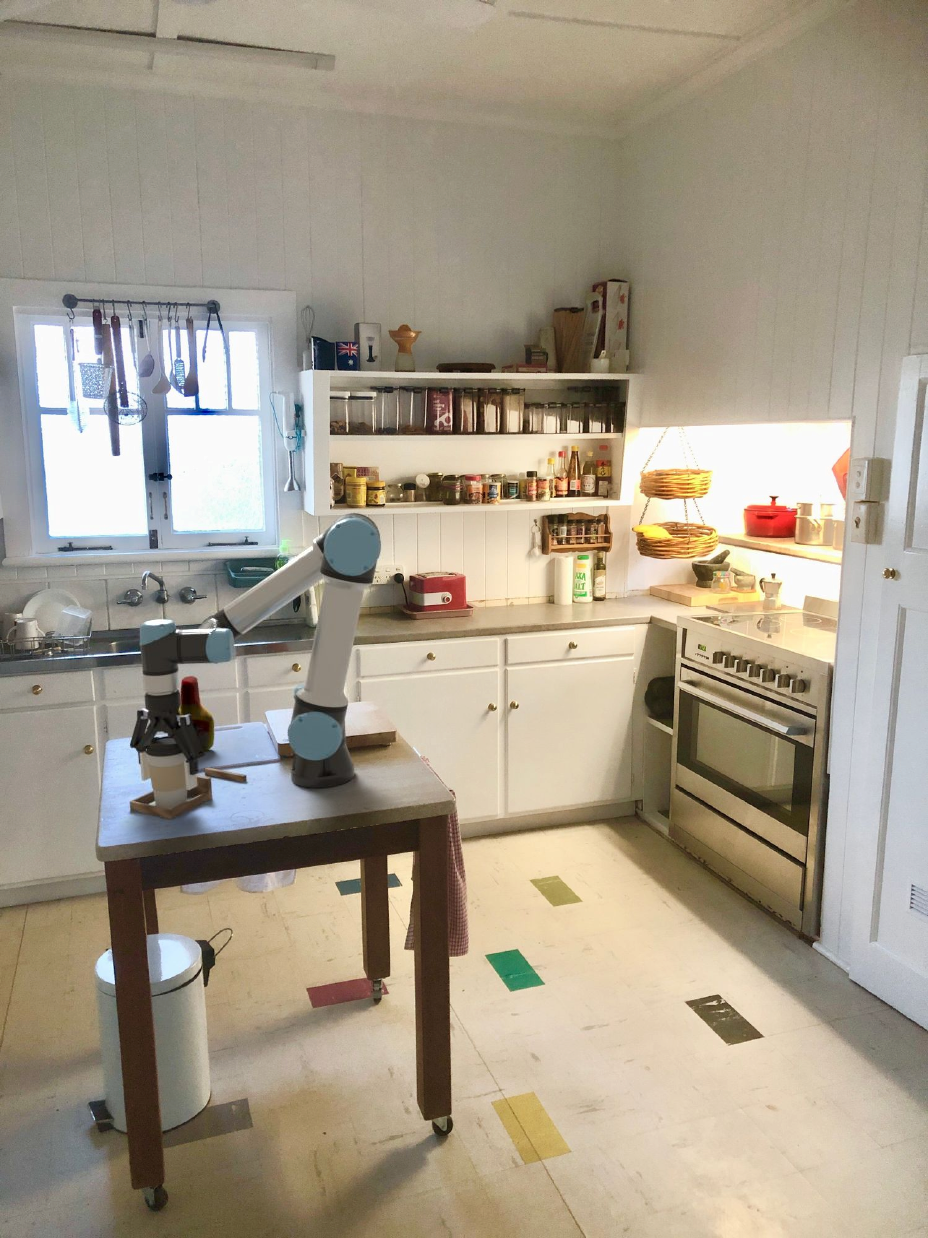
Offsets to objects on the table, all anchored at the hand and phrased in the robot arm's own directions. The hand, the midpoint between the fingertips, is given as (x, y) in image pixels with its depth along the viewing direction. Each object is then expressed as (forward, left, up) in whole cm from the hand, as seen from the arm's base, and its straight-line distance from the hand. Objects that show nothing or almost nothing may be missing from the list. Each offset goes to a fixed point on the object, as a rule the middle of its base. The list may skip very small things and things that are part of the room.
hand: (169, 783), depth 212 cm
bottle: (+21, -30, -5) cm, 37 cm away
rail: (0, -18, -5) cm, 19 cm away
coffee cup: (0, 0, -5) cm, 5 cm away
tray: (0, 0, -5) cm, 5 cm away
